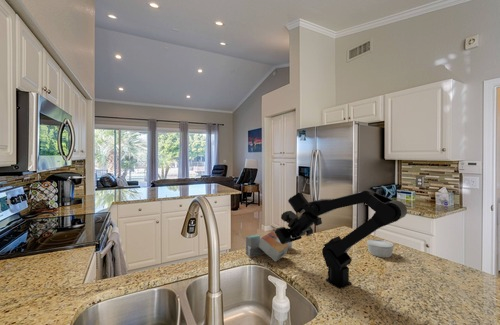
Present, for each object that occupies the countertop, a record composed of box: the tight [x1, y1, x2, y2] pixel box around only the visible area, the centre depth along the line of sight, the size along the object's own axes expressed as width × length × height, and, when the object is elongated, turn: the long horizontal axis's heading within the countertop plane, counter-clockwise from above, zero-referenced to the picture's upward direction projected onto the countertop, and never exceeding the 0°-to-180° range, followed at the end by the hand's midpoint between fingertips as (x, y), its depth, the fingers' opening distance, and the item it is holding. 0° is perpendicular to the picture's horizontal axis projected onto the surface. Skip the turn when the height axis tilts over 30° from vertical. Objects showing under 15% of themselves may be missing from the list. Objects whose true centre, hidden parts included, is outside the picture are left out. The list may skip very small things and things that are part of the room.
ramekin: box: [366, 238, 395, 258], centre depth 112 cm, size 11×11×5 cm
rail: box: [247, 241, 293, 258], centre depth 113 cm, size 3×24×5 cm, turn 119°
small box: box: [259, 231, 289, 263], centre depth 106 cm, size 8×6×10 cm
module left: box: [245, 234, 262, 255], centre depth 110 cm, size 5×5×9 cm
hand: (284, 242), depth 104 cm, fingers closed
